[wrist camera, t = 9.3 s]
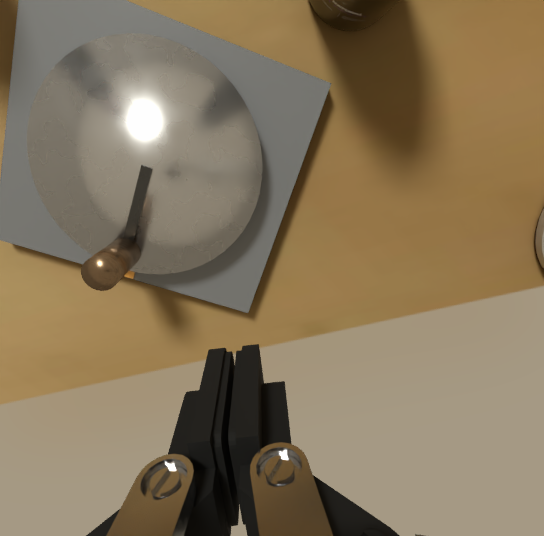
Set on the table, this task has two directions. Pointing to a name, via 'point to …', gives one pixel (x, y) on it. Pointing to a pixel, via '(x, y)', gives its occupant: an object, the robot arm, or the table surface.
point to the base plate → (239, 71)
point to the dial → (143, 156)
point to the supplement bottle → (351, 12)
